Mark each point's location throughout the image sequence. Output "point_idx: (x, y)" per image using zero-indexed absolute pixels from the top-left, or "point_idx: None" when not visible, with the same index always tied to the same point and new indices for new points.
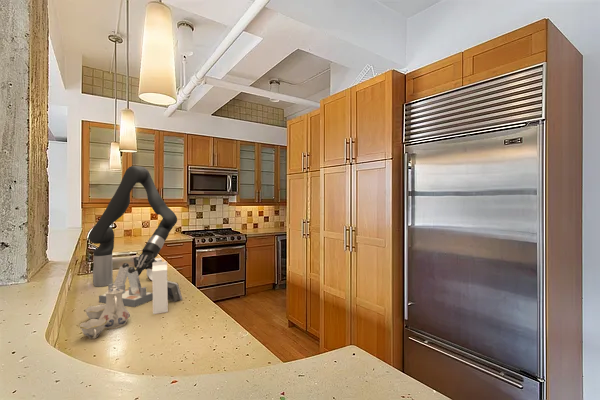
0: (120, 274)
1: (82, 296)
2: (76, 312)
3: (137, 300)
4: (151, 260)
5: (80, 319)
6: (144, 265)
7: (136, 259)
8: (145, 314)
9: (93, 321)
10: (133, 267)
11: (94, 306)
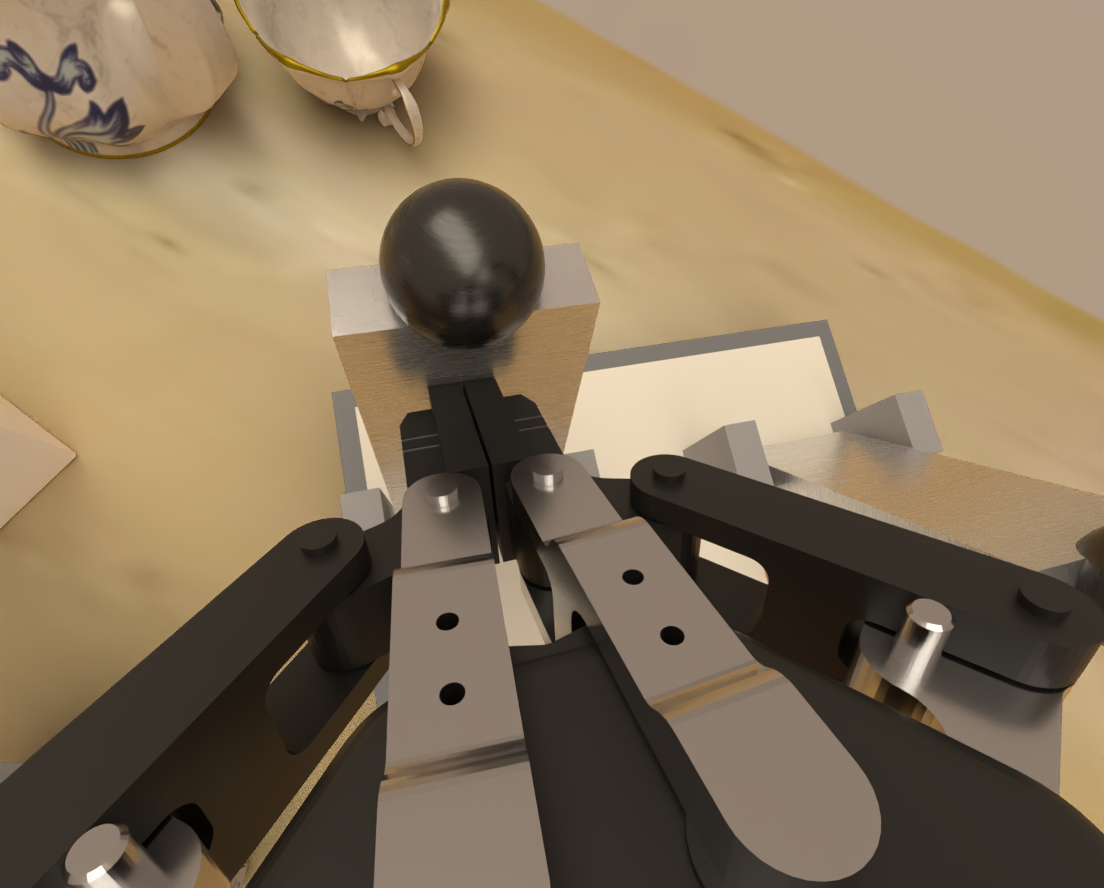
0: (977, 492)
1: (1068, 370)
2: (682, 130)
3: (337, 429)
4: (18, 839)
5: (497, 58)
6: (302, 550)
7: (910, 605)
8: (45, 331)
9: None
10: (427, 257)
11: (433, 33)
